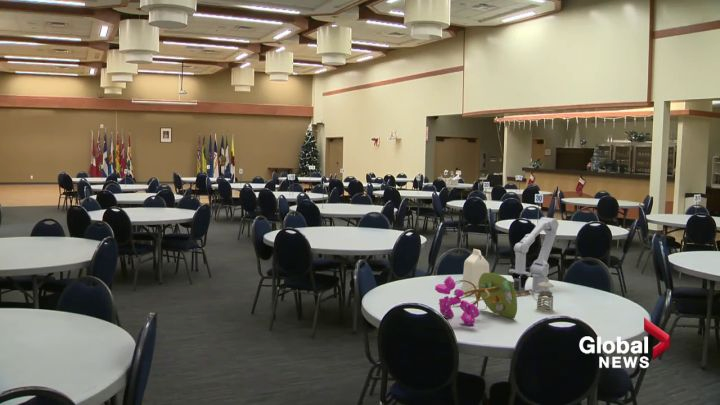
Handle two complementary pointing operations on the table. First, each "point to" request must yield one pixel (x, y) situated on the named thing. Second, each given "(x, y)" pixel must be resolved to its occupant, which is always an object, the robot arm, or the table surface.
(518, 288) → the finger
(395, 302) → the table surface
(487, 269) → the milk
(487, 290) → the magenta flower sprig
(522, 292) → the rail
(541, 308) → the french press
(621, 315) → the table surface
